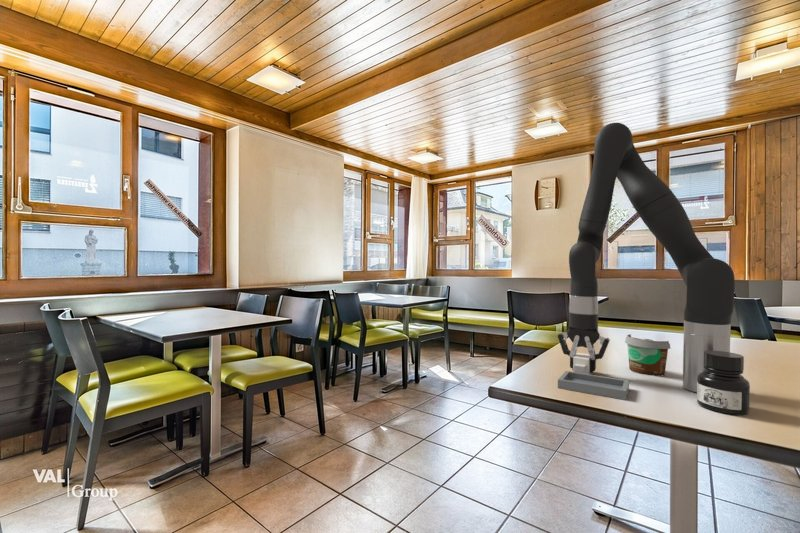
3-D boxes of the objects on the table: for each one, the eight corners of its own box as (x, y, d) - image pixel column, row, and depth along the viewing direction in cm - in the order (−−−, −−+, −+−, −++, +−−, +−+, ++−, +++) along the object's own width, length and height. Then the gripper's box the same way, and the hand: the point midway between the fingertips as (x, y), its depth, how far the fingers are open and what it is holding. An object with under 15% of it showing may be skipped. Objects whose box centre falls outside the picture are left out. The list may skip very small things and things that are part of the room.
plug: (592, 371, 114) (592, 354, 114) (587, 379, 106) (587, 361, 106) (577, 369, 116) (577, 352, 116) (571, 377, 108) (571, 359, 108)
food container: (615, 368, 118) (615, 335, 118) (628, 365, 121) (628, 333, 121) (656, 379, 107) (657, 343, 107) (670, 376, 110) (670, 341, 110)
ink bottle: (686, 403, 89) (687, 350, 88) (709, 398, 92) (710, 347, 92) (737, 419, 80) (738, 360, 80) (760, 413, 83) (761, 357, 83)
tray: (628, 388, 98) (629, 380, 98) (625, 400, 90) (626, 391, 90) (565, 378, 107) (565, 370, 107) (557, 387, 99) (557, 379, 99)
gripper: (613, 312, 111) (612, 372, 111) (560, 308, 119) (559, 364, 119) (610, 315, 105) (609, 378, 105) (554, 310, 112) (553, 370, 113)
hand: (582, 370), depth 112 cm, fingers closed on plug, 4 cm apart
